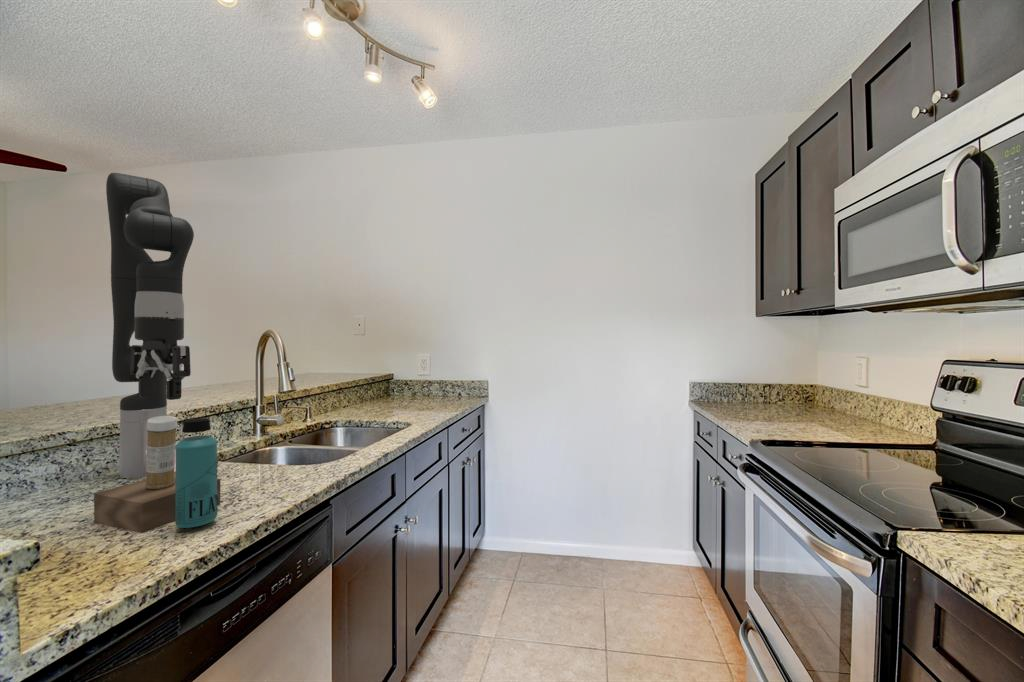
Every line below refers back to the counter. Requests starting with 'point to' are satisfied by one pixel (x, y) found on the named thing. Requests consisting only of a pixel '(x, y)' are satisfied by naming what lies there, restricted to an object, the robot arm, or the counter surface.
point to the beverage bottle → (196, 476)
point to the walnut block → (137, 506)
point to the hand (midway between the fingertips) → (159, 398)
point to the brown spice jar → (160, 452)
